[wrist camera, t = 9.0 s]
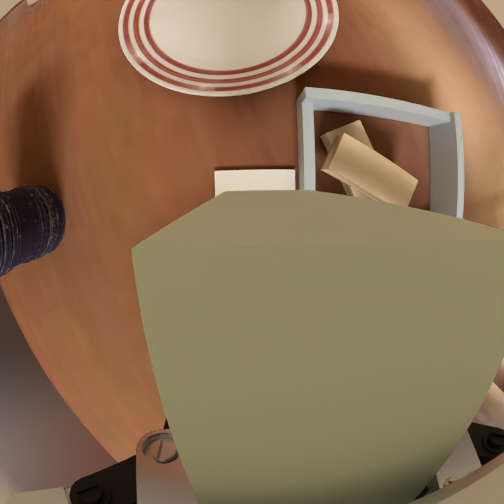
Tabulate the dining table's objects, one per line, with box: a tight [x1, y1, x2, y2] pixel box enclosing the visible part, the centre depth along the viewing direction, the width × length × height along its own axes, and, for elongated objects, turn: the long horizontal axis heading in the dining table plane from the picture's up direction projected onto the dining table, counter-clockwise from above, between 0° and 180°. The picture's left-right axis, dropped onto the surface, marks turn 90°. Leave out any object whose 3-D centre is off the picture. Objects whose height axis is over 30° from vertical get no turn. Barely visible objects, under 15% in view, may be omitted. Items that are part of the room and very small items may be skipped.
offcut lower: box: [320, 120, 373, 200], centre depth 31 cm, size 5×12×3 cm, turn 26°
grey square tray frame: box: [296, 87, 464, 219], centre depth 29 cm, size 20×19×6 cm
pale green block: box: [131, 190, 504, 504], centre depth 10 cm, size 4×12×13 cm, turn 1°
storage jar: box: [0, 186, 65, 277], centre depth 24 cm, size 10×10×15 cm
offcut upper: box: [320, 133, 418, 207], centre depth 28 cm, size 4×10×3 cm, turn 65°
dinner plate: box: [118, 0, 339, 97], centre depth 25 cm, size 28×27×3 cm
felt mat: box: [215, 169, 295, 197], centre depth 33 cm, size 9×16×1 cm, turn 1°
